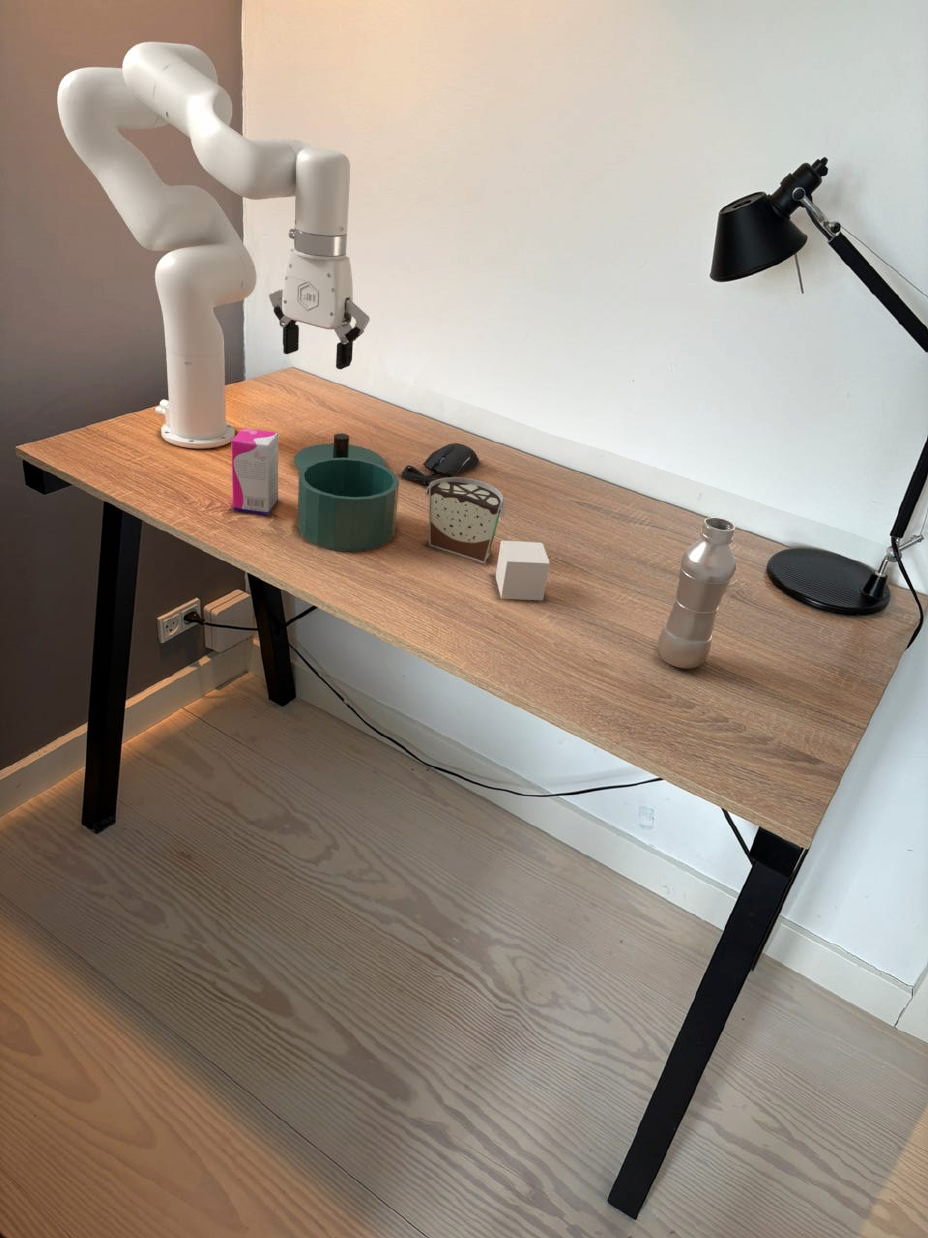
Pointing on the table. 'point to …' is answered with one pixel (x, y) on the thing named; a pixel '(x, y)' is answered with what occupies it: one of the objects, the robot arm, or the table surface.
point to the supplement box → (255, 471)
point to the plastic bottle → (698, 595)
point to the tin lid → (335, 452)
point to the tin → (347, 504)
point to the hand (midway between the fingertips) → (316, 359)
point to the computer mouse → (444, 463)
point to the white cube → (522, 570)
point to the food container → (464, 516)
